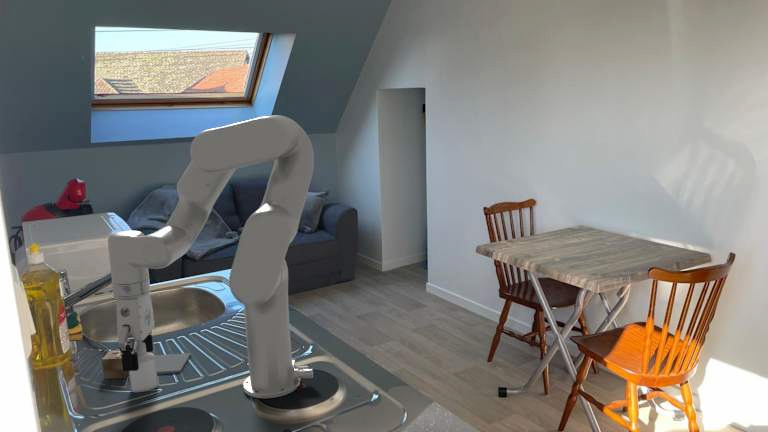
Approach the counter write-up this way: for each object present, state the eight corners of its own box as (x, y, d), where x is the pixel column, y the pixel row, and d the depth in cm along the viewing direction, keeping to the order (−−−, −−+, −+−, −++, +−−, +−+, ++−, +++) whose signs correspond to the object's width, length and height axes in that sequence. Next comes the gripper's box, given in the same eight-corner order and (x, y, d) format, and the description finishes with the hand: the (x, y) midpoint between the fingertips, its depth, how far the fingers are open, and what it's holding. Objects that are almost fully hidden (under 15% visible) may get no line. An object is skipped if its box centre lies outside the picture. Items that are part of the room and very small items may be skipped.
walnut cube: (133, 368, 143) (130, 348, 142) (126, 377, 138) (123, 357, 137) (112, 369, 143) (109, 349, 142) (104, 379, 138) (101, 358, 137)
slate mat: (191, 355, 149) (190, 353, 149) (180, 372, 139) (180, 370, 139) (151, 357, 148) (150, 355, 148) (137, 375, 139) (137, 373, 139)
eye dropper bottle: (152, 393, 130) (146, 342, 127) (128, 393, 130) (121, 342, 128) (161, 383, 134) (155, 334, 132) (137, 383, 134) (131, 334, 132)
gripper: (135, 299, 119) (142, 377, 123) (161, 275, 136) (167, 344, 140) (97, 301, 119) (106, 379, 122) (128, 276, 136) (134, 345, 139)
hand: (138, 360), depth 131 cm, fingers open, 9 cm apart
